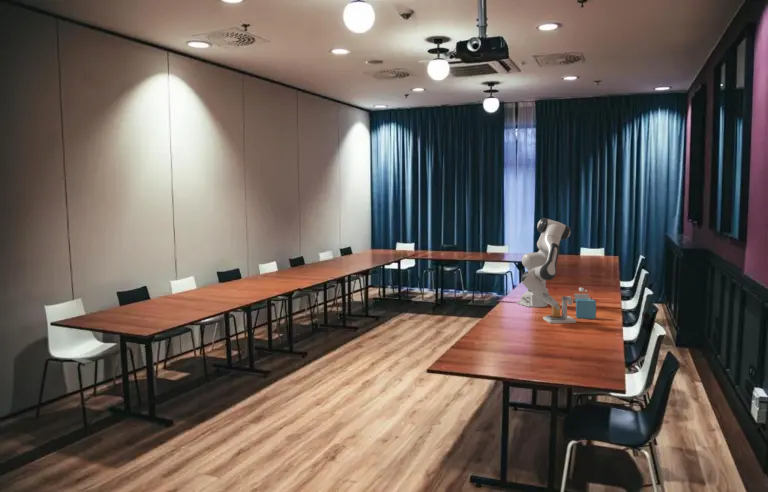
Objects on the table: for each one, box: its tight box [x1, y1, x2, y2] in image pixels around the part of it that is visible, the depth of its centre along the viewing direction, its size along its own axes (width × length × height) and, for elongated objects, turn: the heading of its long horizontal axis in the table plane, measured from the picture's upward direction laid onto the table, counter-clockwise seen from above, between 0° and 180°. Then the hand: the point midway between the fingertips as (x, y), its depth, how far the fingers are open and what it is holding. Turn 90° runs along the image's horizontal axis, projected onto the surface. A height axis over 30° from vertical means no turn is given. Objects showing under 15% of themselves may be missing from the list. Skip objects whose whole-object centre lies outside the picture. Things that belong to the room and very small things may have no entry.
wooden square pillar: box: [550, 302, 561, 318], centre depth 355 cm, size 4×4×10 cm
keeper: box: [542, 295, 577, 324], centre depth 355 cm, size 17×13×16 cm
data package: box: [575, 299, 597, 320], centre depth 362 cm, size 12×4×12 cm, turn 73°
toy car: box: [572, 287, 593, 304], centre depth 418 cm, size 18×10×12 cm
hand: (556, 307), depth 355 cm, fingers open, 8 cm apart
